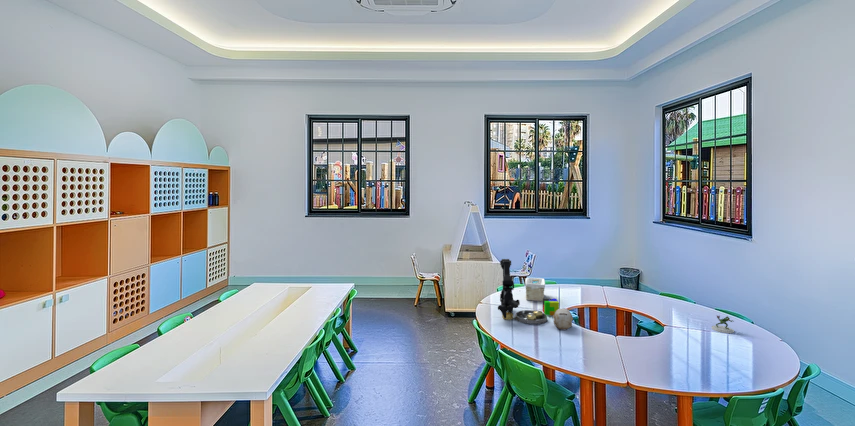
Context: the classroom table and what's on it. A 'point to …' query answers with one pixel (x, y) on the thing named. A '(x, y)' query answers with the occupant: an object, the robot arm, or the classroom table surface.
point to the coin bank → (563, 319)
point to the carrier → (530, 317)
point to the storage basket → (535, 289)
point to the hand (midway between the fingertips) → (507, 316)
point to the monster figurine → (723, 328)
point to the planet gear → (508, 316)
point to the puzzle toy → (550, 306)
